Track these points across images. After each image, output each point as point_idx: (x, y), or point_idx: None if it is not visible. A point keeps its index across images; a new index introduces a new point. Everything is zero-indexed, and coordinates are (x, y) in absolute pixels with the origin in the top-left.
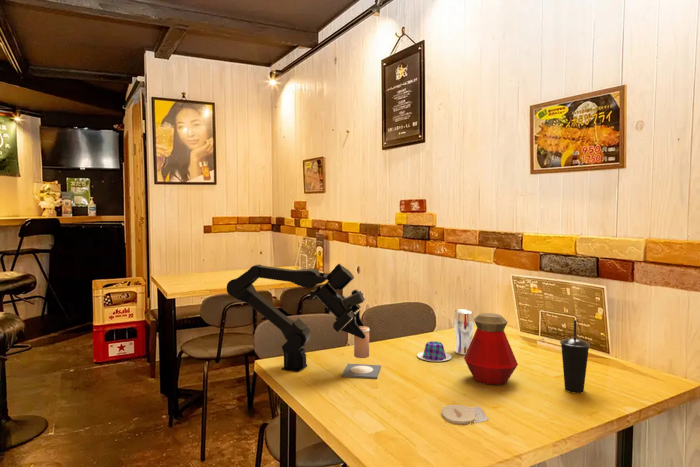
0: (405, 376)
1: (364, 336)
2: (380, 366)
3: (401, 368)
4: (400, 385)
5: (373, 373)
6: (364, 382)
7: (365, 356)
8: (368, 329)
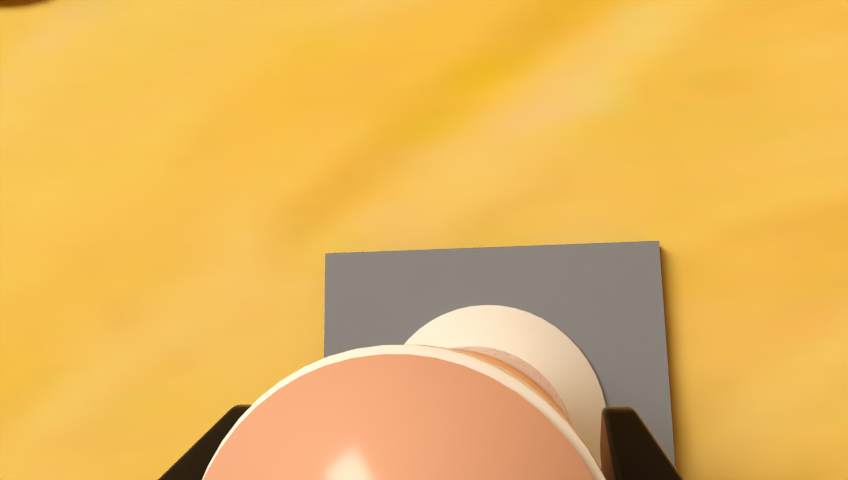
0: (529, 12)
1: (638, 430)
2: (356, 253)
3: (334, 77)
4: (767, 14)
5: (566, 287)
6: (781, 343)
7: (548, 382)
8: (461, 361)
